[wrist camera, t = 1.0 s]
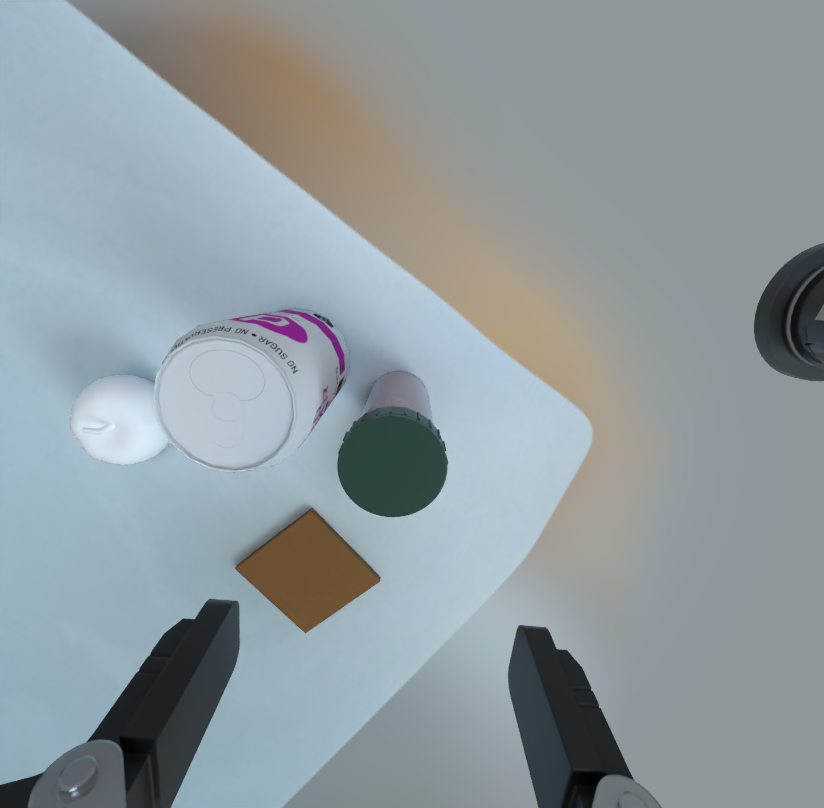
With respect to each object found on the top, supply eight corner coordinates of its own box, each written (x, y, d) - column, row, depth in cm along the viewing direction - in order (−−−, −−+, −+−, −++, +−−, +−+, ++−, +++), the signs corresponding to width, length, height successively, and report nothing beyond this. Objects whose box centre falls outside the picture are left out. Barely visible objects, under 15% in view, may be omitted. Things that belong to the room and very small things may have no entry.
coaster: (312, 507, 38) (310, 510, 38) (380, 577, 40) (380, 581, 40) (237, 564, 40) (234, 568, 39) (306, 628, 42) (305, 633, 42)
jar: (403, 358, 35) (399, 400, 21) (440, 404, 36) (458, 471, 23) (356, 395, 35) (326, 458, 22) (394, 439, 37) (386, 523, 23)
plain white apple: (184, 363, 35) (120, 385, 27) (202, 441, 36) (146, 483, 29) (103, 368, 35) (15, 391, 27) (124, 446, 37) (48, 488, 29)
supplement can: (256, 301, 33) (137, 310, 19) (356, 317, 34) (316, 338, 19) (251, 396, 35) (141, 470, 21) (345, 410, 36) (301, 492, 21)
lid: (401, 383, 23) (400, 392, 21) (466, 461, 24) (470, 476, 22) (320, 447, 24) (312, 461, 22) (387, 519, 25) (385, 537, 23)
